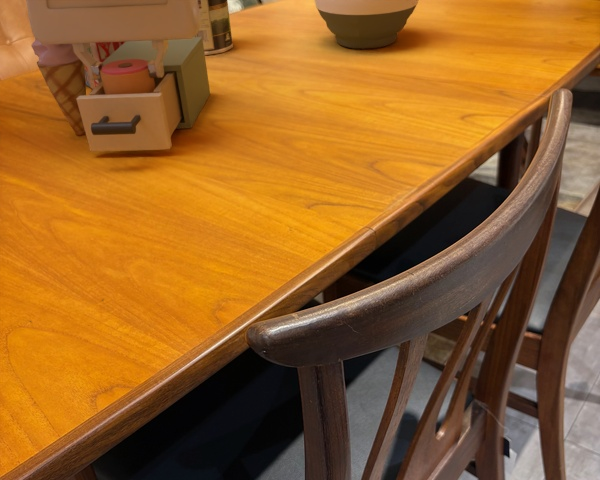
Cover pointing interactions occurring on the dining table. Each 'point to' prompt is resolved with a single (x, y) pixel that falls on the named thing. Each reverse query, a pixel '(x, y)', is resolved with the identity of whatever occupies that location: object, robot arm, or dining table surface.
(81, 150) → the dining table surface
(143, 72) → the donut
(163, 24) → the robot arm
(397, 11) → the bowl
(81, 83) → the ice cream cone
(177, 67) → the cabinet
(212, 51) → the coffee can
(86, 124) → the drawer
